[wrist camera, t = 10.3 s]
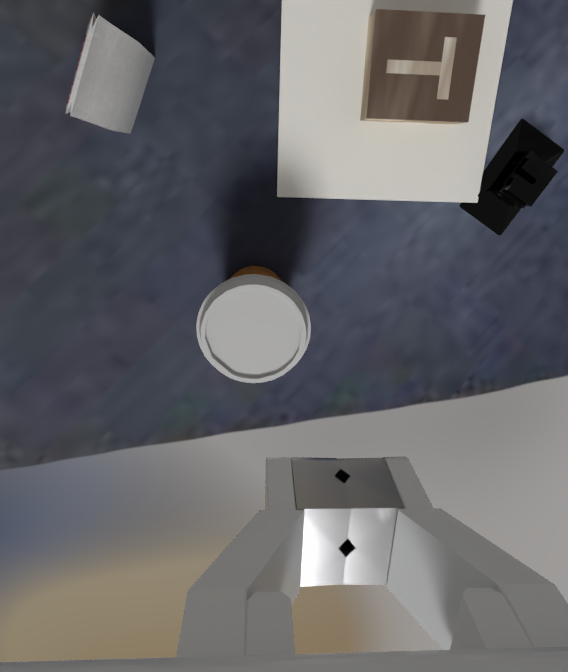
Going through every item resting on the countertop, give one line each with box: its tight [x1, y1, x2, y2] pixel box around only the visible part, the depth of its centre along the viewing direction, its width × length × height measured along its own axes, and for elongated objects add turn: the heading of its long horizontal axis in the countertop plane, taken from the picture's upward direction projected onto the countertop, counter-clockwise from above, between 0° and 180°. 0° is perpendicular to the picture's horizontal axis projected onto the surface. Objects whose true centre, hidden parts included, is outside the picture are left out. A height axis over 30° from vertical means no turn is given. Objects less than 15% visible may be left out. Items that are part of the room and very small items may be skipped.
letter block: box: [360, 9, 485, 124], centre depth 41 cm, size 3×8×9 cm
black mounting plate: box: [460, 119, 564, 235], centre depth 44 cm, size 12×7×5 cm, turn 148°
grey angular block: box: [66, 12, 155, 134], centre depth 37 cm, size 4×7×10 cm, turn 155°
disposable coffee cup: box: [196, 266, 311, 383], centre depth 43 cm, size 10×10×12 cm
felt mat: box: [277, 0, 513, 203], centre depth 42 cm, size 20×22×1 cm
